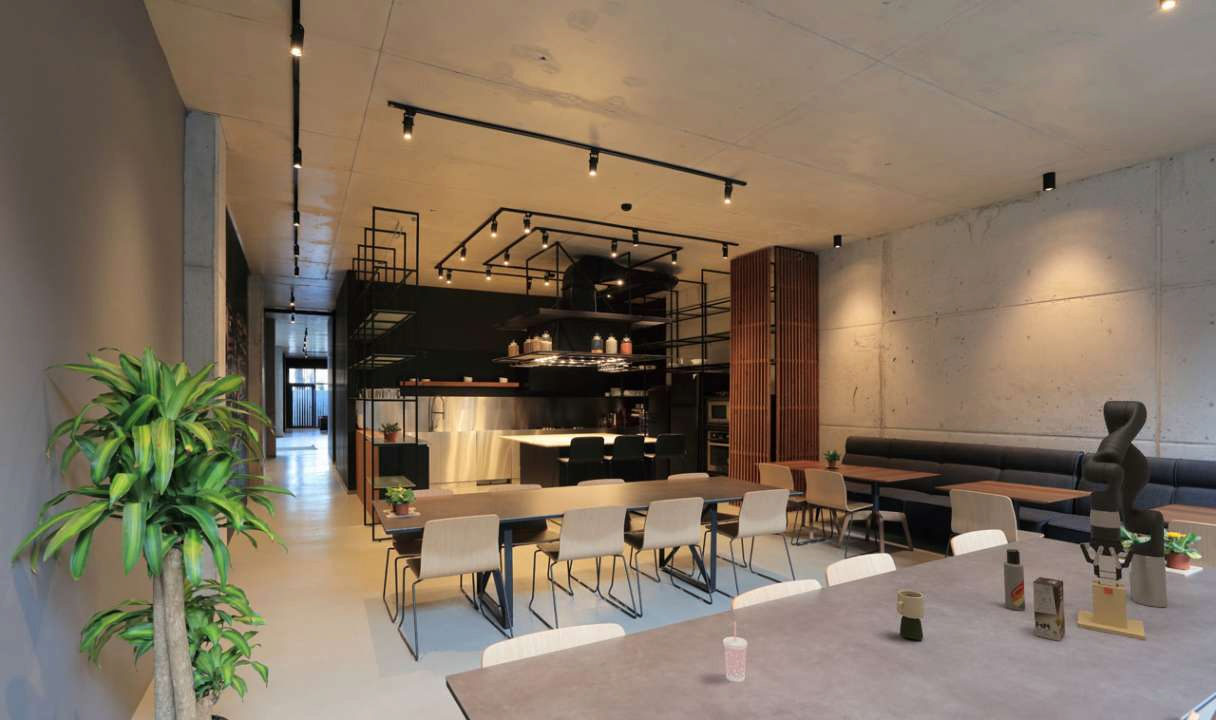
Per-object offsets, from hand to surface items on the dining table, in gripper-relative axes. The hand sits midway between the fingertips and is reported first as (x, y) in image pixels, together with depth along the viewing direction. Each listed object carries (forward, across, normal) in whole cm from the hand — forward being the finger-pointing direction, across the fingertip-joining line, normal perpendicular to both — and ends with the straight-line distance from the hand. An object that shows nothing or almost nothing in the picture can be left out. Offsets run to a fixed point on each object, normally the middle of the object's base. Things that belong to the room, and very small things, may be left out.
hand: (1107, 578), depth 191 cm
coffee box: (+15, +14, +22) cm, 30 cm away
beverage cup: (+15, +74, +112) cm, 135 cm away
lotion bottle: (+15, +25, 0) cm, 29 cm away
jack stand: (+15, 0, 0) cm, 15 cm away
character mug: (+15, +46, +53) cm, 72 cm away
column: (+13, 0, 0) cm, 13 cm away
